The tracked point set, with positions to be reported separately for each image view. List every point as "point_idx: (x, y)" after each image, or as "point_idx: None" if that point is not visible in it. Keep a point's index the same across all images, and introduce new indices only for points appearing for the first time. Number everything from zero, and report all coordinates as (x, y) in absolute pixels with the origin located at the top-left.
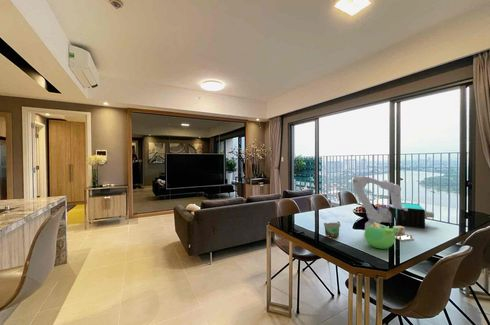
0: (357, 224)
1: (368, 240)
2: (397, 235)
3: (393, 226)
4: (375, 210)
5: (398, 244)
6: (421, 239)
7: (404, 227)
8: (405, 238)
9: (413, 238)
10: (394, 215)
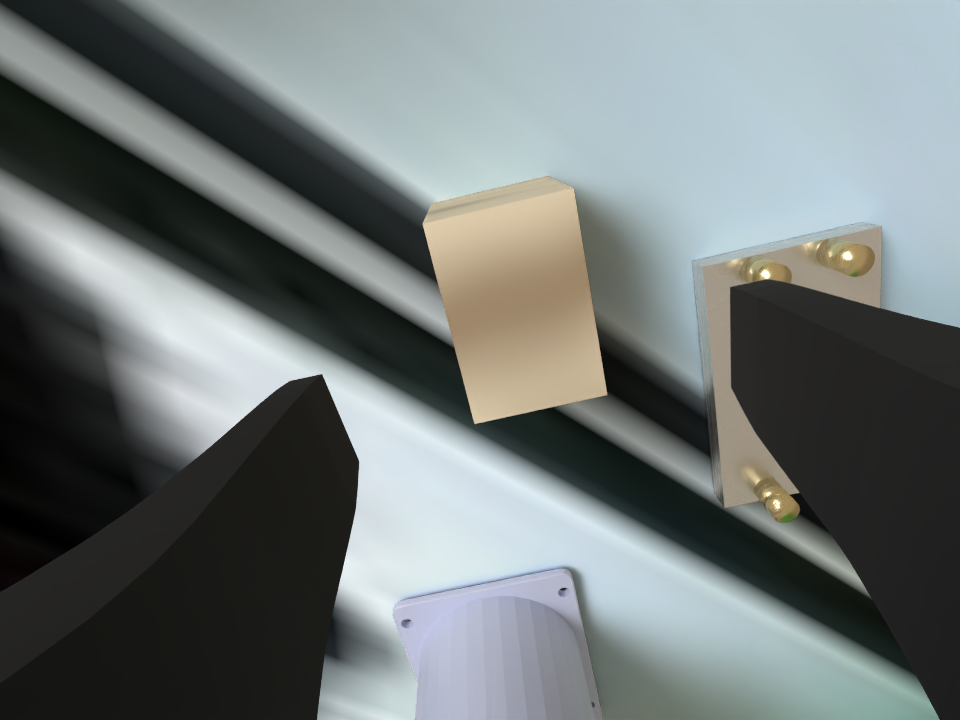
0: None
1: None
2: (797, 505)
3: (485, 417)
4: None
5: None
6: (880, 54)
7: (573, 195)
8: None
9: (880, 246)
10: (321, 475)
